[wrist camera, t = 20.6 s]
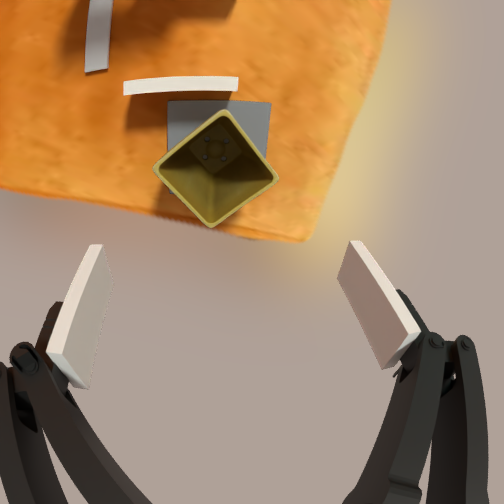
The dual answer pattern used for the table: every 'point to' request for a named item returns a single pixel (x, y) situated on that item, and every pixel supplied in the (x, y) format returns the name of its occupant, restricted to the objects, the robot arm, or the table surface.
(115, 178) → the table surface
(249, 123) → the mat
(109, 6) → the white bars
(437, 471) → the robot arm
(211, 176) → the flower pot
